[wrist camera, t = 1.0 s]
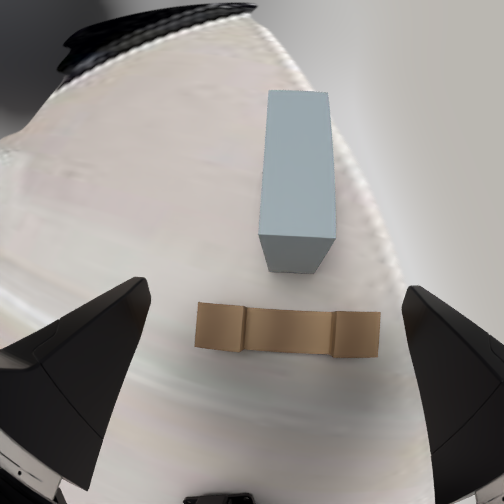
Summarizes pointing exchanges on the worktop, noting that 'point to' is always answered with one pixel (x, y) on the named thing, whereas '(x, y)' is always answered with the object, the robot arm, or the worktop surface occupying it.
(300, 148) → the grey slotted plate
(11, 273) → the worktop surface
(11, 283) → the worktop surface
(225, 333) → the tan stepped bar
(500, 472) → the robot arm
